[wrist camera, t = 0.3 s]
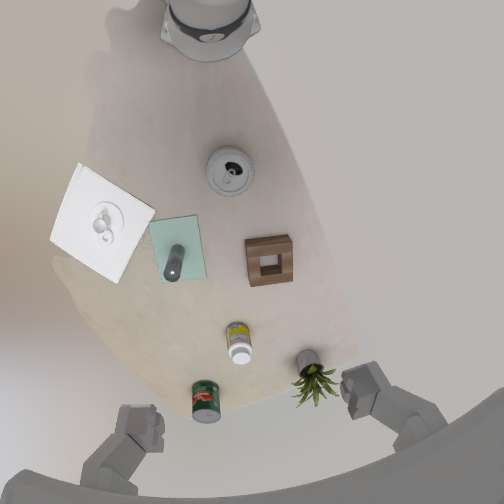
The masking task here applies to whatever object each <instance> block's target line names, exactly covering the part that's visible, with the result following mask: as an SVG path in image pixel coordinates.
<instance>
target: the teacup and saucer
mask: <svg viewBox="0 0 504 504" xmlns="http://www.w3.org/2000/svg"><path fill="white" fill-rule="evenodd" d="M89 225H90V228H91V230H92V231H93V232H94V234H95V235H96V236H97V241H98V243H99V244H100V245H101V246H103V247H109V246H111V245H112V244H113V242H114V239H115V238H117V237H118V236H119V235H120V234H121V233H122V231H123V228H124V216H123V214H122V212H121V210H120V209H119V208H118V207H117V206H116V205H115V204H113V203H111V202H108V201H102V202H99V203H97V204H96V205H95V206H94V207H93V208H92V209H91V211H90V213H89Z"/></svg>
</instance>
